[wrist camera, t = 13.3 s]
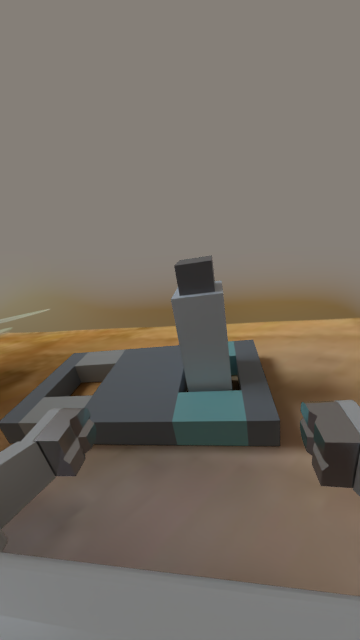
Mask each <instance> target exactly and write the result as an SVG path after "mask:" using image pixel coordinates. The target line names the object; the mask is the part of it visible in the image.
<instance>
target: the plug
mask: <svg viewBox="0 0 360 640" xmlns="http://www.w3.org/2000/svg"><path fill="white" fill-rule="evenodd" d="M175 272H176V278H177V284H178V288H177V290H176V292H175V293H174V295H173V297H172V298H171V302H172V307H173V312H174V318H175V323H176V329H177V334H178V339H179V345H180V350H181V355H182V361H183V366H184V372H185V377H186V382H187V388H188V392H206V391H232V381H231V370H230V360H229V349H228V339H227V329H226V318H225V308H224V298H223V289H222V281H215V280H214V270H213V262H212V256H206V257H199V258H192V259H186V260H180V261H179V262H178V263H177V264H176V265H175Z"/></svg>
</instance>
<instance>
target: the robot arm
mask: <svg viewBox="0 0 360 640" xmlns="http://www.w3.org/2000/svg"><path fill="white" fill-rule="evenodd" d="M301 413H302V415H303V417H304V418H303V419H302V420H301V421H300V430H301V437H302V440H303V443H304V446H305V449H306V451H307V452H308V453H310V454H311V455H312V466H313V468H314V471H315V473H316V475H317V478H318V480H319V483H320V485H321V486H329V487H344V488H353V490H354V491H355V492H356V493H357V494H358V495H359V496H360V407H359V406H358V404H357V403H356V402H355V401H353V400H338V401H315V402H302V404H301ZM90 416H91V414H90V412H89V410H88V409H87V408H53V409H51V410H49V411H48V412H47V413H46V414H45V415H44V416H43V417H42V419H41V420H40V421H39V422H38V423H37V424H36V425H35V426H34V427H33V428H32V430H31V431H30V432H29V433H28V434H27V435H26V436H25V437H24V438H23V439H22V441H21V442H16V443H14V444H12V445H11V446H9V447H8V448H6V449H4V450H3V451H1V452H0V640H360V596H354V595H346V594H337V593H329V592H321V591H313V590H305V589H297V588H289V587H281V586H273V585H264V584H256V583H248V582H240V581H232V580H224V579H216V578H208V577H199V576H191V575H183V574H175V573H167V572H159V571H151V570H143V569H135V568H126V567H118V566H110V565H102V564H94V563H86V562H78V561H69V560H61V559H53V558H45V557H37V556H29V555H20V554H12V553H4V552H2V550H3V549H4V547H5V546H6V544H7V539H8V538H7V536H6V535H5V534H4V533H3V531H2V530H1V529H2V528H3V527H4V526H5V525H6V524H7V523H8V522H9V521H10V520H11V519H12V518H13V517H14V516H15V515H17V514H18V513H19V512H20V511H21V510H22V509H23V508H24V507H25V506H26V505H27V504H28V503H29V502H30V501H31V500H32V499H33V498H35V497H36V496H37V495H38V494H39V493H40V492H41V491H42V490H43V489H44V488H45V487H46V486H47V485H48V484H49V483H50V482H51V481H53V480H54V479H55V476H76V475H77V473H78V471H79V470H80V468H81V466H82V464H83V463H84V461H85V453H86V452H87V451H89V450H90V449H91V448H92V446H93V444H94V442H95V439H96V434H97V432H96V426H95V424H94V423H93V422H92V421H91V420H90Z"/></svg>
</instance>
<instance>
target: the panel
mask: <svg viewBox="0 0 360 640" xmlns="http://www.w3.org/2000/svg"><path fill="white" fill-rule="evenodd" d="M228 349H229V360H230V370H231V375H238V382H239V388H240V390H234V391H206V392H186V391H187V382H186V377H185V372H184V366H183V361H182V355H181V350H180V345H178V346H165V347H152V348H139V349H126V350H113V351H100V352H87V353H74V354H73V355H72V356H70V357H69V358H68V359H67V360H66V361H65V362H64V363H63V364H62V365H61V366H59V367H58V368H57V369H56V370H55V371H54V372H53V373H52V374H51V375H50V376H49V377H47V378H46V379H45V380H44V381H43V382H42V383H41V384H40V385H39V386H38V387H37V388H35V389H34V390H33V391H32V392H31V393H30V394H29V395H28V396H27V397H26V398H24V399H23V400H22V401H21V402H20V403H19V404H18V405H17V406H16V407H15V408H14V409H12V410H11V411H10V412H9V413H8V414H7V415H6V416H5V417H4V418H3V419H1V420H0V429H1V430H2V432H3V433H4V435H5V437H6V438H7V440H8V442H9V443H16V442H21V441H22V439H23V438H24V437H25V436H26V435H27V434H28V433H29V432H30V431H31V430H32V428H33V427H34V426H35V425H36V424H37V423H38V422H39V421H40V420H41V419H42V417H43V416H44V415H45V414H46V413H47V412H48V411H49V410H51V409H53V408H87V409H88V410H89V412H90V414H91V416H90V420H91V421H92V422H93V423H94V424H95V426H96V432H97V434H96V439H95V442H94V444H132V445H225V446H280V419H279V416H278V413H277V410H276V407H275V404H274V401H273V398H272V395H271V392H270V389H269V386H268V383H267V380H266V377H265V374H264V371H263V368H262V365H261V362H260V359H259V356H258V353H257V350H256V347H255V344H254V342H253V340H244V341H230V342H228ZM102 381H103V382H102ZM81 382H102V383H101V385H100V386H99V387H98V389H97V390H96V392H95V393H94V394H93V396H70V395H71V394H72V393H73V392H74V390H75V389H76V388H77V387H78V386H79V385H80V383H81Z"/></svg>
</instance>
